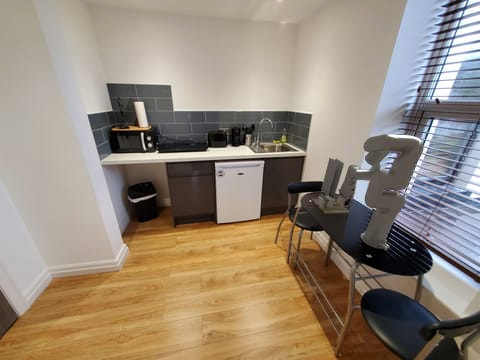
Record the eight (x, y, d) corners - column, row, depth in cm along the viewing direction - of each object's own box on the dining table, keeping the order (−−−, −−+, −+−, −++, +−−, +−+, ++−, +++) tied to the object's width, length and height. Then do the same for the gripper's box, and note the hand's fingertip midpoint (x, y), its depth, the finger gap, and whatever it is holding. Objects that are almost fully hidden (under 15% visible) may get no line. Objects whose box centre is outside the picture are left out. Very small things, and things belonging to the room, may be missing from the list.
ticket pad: (333, 208, 137) (336, 199, 134) (322, 208, 135) (324, 200, 133) (326, 201, 146) (328, 193, 143) (315, 201, 144) (317, 193, 141)
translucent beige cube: (348, 206, 141) (350, 199, 138) (341, 206, 140) (343, 199, 137) (343, 202, 146) (345, 195, 144) (336, 202, 145) (338, 195, 143)
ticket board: (349, 212, 135) (349, 211, 134) (325, 213, 132) (325, 212, 131) (333, 199, 152) (333, 198, 151) (311, 200, 149) (311, 198, 148)
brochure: (334, 197, 155) (344, 163, 143) (327, 197, 155) (337, 163, 143) (327, 190, 168) (336, 158, 156) (321, 189, 168) (329, 157, 156)
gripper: (363, 186, 128) (355, 209, 135) (346, 177, 144) (340, 197, 151) (353, 187, 127) (346, 209, 134) (337, 177, 143) (331, 197, 150)
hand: (343, 203), depth 143 cm, fingers closed on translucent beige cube, 6 cm apart
